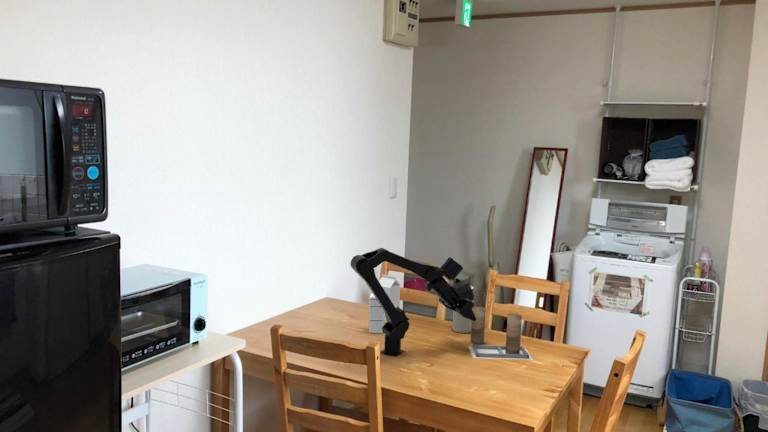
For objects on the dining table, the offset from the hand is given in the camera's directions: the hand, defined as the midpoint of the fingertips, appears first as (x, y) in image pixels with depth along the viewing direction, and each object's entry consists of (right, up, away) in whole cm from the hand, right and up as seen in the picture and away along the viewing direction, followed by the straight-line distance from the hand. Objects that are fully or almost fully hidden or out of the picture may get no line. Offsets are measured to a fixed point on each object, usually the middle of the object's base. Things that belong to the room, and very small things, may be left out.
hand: (469, 316), depth 236 cm
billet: (+3, -11, +3) cm, 12 cm away
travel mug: (0, -9, +21) cm, 22 cm away
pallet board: (+10, -13, -9) cm, 18 cm away
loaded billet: (+14, -12, -9) cm, 20 cm away
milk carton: (-30, -7, +32) cm, 45 cm away
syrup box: (-35, -8, +16) cm, 39 cm away
